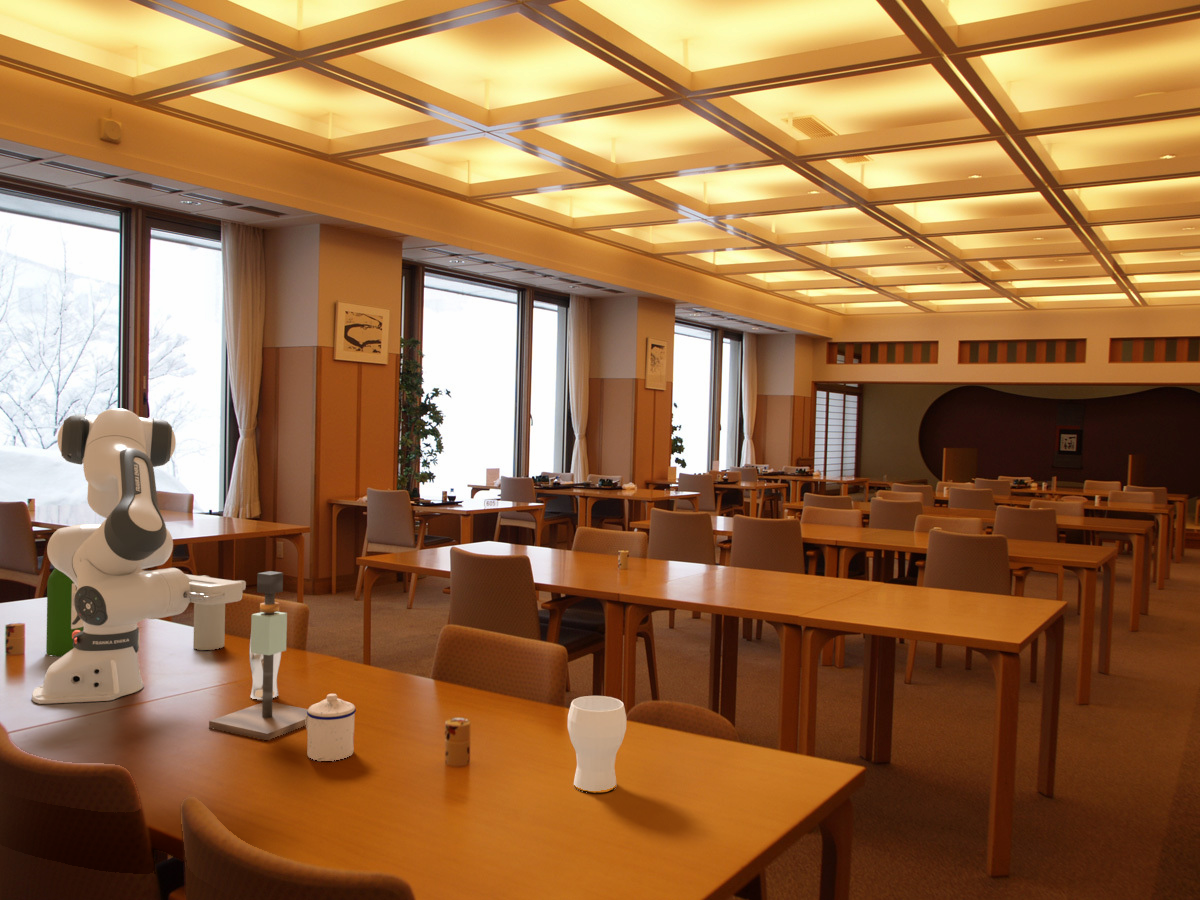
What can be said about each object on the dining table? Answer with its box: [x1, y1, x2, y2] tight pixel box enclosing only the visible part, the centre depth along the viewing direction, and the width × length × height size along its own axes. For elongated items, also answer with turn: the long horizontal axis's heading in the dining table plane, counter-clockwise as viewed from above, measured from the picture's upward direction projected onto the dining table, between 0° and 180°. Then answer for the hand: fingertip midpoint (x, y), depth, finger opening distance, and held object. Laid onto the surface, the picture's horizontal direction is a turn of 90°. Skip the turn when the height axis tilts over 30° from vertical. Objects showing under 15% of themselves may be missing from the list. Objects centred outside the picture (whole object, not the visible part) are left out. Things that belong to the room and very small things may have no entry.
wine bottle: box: [45, 567, 84, 657], centre depth 246 cm, size 9×9×32 cm
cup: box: [567, 695, 627, 791], centre depth 166 cm, size 11×11×15 cm
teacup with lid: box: [305, 693, 357, 762], centre depth 178 cm, size 12×9×12 cm
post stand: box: [208, 570, 308, 741], centre depth 194 cm, size 16×16×32 cm
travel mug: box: [192, 603, 226, 651], centre depth 256 cm, size 8×8×18 cm
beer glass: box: [248, 637, 282, 701], centre depth 213 cm, size 7×7×15 cm
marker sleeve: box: [250, 611, 288, 655], centre depth 194 cm, size 5×5×8 cm
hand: (225, 582), depth 183 cm, fingers open, 8 cm apart
